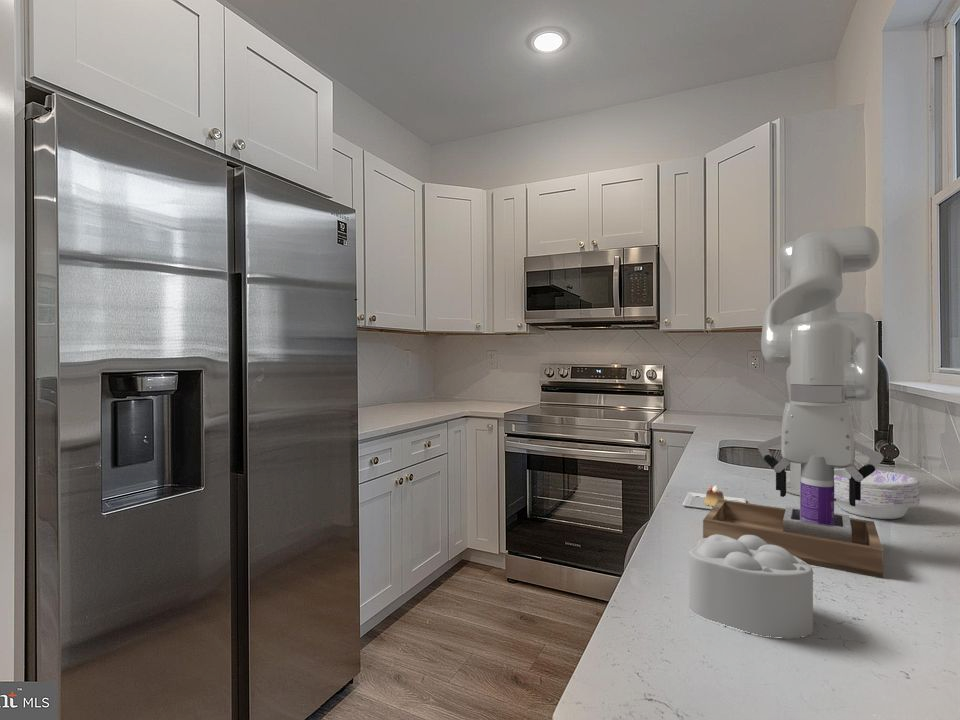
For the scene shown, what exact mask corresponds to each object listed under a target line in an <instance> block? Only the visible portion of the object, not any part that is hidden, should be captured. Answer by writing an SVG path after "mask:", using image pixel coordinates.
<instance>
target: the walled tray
mask: <svg viewBox="0 0 960 720" xmlns="http://www.w3.org/2000/svg"><path fill="white" fill-rule="evenodd" d="M711 508H712V509H711V510H709V512H708V513H707V515H706V516H705V517H704V518H703V520H702V539H703V538H708V537H709V536H711V535H716V534H718V535H724V536H728V537H730V538H733V539H736V540H738V539H739V538H740V537H741V536H743V535H755V536H757V537H759V538H761V539H763V540H764V541H765V542H766V543H767V544H768V545H777V546H780V547H782V548H784V549H785V550H787V551H788V552H789V553H790V554H791V555H793V556H795V557H797V558H799V559H801V560H802V561H804V562H806V563H807V564H808V565H810V566H811V565H812V566H817V567H820V568H821V567H822V568H827V569H832V570H837V571H843V572H847V573H853V574H859V575H864V576H869V577H875V578H880V579H884V549H883V546H882V543H881V540H880V536H879V534H878V530H877V528H876V524H875V521H873V520H868V519H860V518H852V517H850V523H851V529H852V543H850V542H844V541H838V540H832V539H826V538H820V537H814V536H808V535H802V534H796V533H790V532H784V531H783V518H784V514H785V510H786V508H784V507H777V506H768V505H763V504H756V503H748V502H746V503H743V502H737V501H729V500H722V499H719V500H718V501H717V503H716V504H715V505H714V507H711Z"/></svg>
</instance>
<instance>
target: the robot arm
mask: <svg viewBox="0 0 960 720" xmlns="http://www.w3.org/2000/svg"><path fill="white" fill-rule="evenodd" d="M778 255H779V257H778V258H779V264H780V268H781V271H782V274H783V276H784V279H785V280H786V282H787V284H788V286H787V287H786V288H785V289H783V290H782V291H781V292H780V293H779V294H778V295H776V296H775V297H774V298H773V300H772V301H771V302H770V303H769V305H768V306H767V307H766V310H765V312H764V314H763V318H762V324H761V325H762V326H761V338H760V342H761V343H760V347H761V353H762V356H763V358H764V360H765V361H766V362H768V363H770V364H773V365H777V366H779V365H781V366H788V367H787V369H786V371H785V372H786V374H785V378H786V379H785V381H786V385H787V392H788V399H789V402H785V404H784V409H783V414H782V421H781V423H782V424H781V434H780V435H777V436H775V437H773V438H770V439H767V440H765V441H762V442H759V443H758V444H757V449H758V451H759V453H760V455H761V457H762V458H763V461H765V462H766V464H768V466H769V467H770V468H772V469H773V471H774V473H775V490H776V491H779V493H780V494H779V495H780V497H782V498H784V497H786V496H787V495H786V494H787V493H789V494H792V495H796V496H799V497H800V479H801V464H805V463H808V462H809V459H810V457H811V455H812V456H822V457H824V459H825V461H826V464H827V465H829V466H830V467H834V469H839V468H845V470H846V471H847V472H848V473H849V474H850V475H851V479H850V478H849V503H850V505H851V506H855V500H859V501H861V481H862V480H863V479H864V478H866V477H867V476H869V475H870V474H871V473H873V472H874V471H875V470H877V468H879V466H880V464H881V462H883V460H884V455H883V454H882V453H881V452H879V451H877V450H875V449H874V448H873V449H872V448H871V447H869V446H867V445H865V444H863V443H861V442H859V441H857V440H855V437H856V436H855V426H854V419H853V413H852V408H851V405H848V404H846V402H866V401H867V402H868V401H871V400H872V399H874V398H875V396H876V394H877V393H878V392H877V391H878V387H879V386H878V383H879V367H878V365H879V359H878V358H879V357H878V355H879V353H878V350H879V348H878V347H879V345H878V344H879V343H878V342H879V341H878V340H879V339H878V338H879V337H878V327H877V326H878V325H877V322H876V320H875V318H874V317H873V315H872V314H869V313H867V312H864V311H863V312H862V311H847V312H846V311H845V312H843V311H842V312H838V311H837V299H838V298H839V296H840V295H841V294H842V292H843V289H844V286H843V284H844V283H843V274H845V273H846V274H847V273H849V274H850V273H860V272H866V271H869V270H870V269H872V268H873V267H874V266H875V265H876V264H877V262H878V259H879V258H880V257H879V255H880V240H879V237H878V234H877V233H876V232H875V230H874V229H873V228H871V227H870V226H867V225H866V226H865V225H861V226H860V225H859V226H857V225H856V226H850V227H839V228H831V229H824V230H823V229H822V230H815V231H810V232H808V233H805V234H803V235H801V236H800V237H798V238H797V239H793V240H790V241H788V242H786V243H784V244H783V245H782V246H781V247H780V249H779V253H778ZM791 319H792V323H786V322H787V321H789V320H791ZM779 445H780V454H781V458H780V459H779V460H777V459H776V458H775V457H774V456H773V455H772V454H771V452H770V449H771V448H774V447H776V446H779ZM856 451H857V452H859V453H860V454H862V455H865V456H866V457H868V458H869V459H868V461H867V463H865V464H864V465H863V466H862V467H860V468H858V467H856V465H855V460H856V459H855V458H856ZM789 465H790V466H789ZM788 466H789V468H790V469H789V472H790V473H789V475H790V476H789V478H790V479H789V481H787V471H786V468H787V467H788ZM858 469H859V470H858ZM834 500H836V498H834Z"/></svg>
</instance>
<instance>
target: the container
mask: <svg viewBox="0 0 960 720" xmlns="http://www.w3.org/2000/svg"><path fill="white" fill-rule="evenodd" d="M799 497H800V498H799V508H800V520H801V521H807V522H814V523H820V524H827V525H833V526H834V513H835V499H834V467H830V466H829V465H827V464H826V461H825V459H824V457H822V456H812V455H811V457H810V459H809V462H808V463H805V464H801V479H800V496H799Z"/></svg>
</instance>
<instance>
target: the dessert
mask: <svg viewBox="0 0 960 720" xmlns="http://www.w3.org/2000/svg"><path fill="white" fill-rule="evenodd" d="M710 486H711V487H709V489H707V491H706V493H702V492H701V493H700V492H691V491H688V492H687V493H686V496H685V498H684V501H683V502H682V506H684V507H685V508H692V509H700V510H706V509H707V510H706V511H710V510H711V509H712V508H713V507H714V505H715V504H716V503H717V501H718V500H719V499H722V500H725V499H727V500H738V501H741V502H743V503H747V499H746V498H744V497H737V496H736V497H735V496H734V497H733V496H725V495H724V493H723V491H721V490H720V489H719V488H718V486H717V485H716V484H715V485H714V486H712V484H711V485H710ZM695 496H700V497H699V498H704V497H705V498H704V500H703V504H704V505H705V506H700V505H691V504H692V501H693V499H692V497H693V498H694V497H695ZM691 500H692V501H691ZM708 505H709V507H708ZM706 506H707V507H706ZM712 506H713V507H712Z"/></svg>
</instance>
